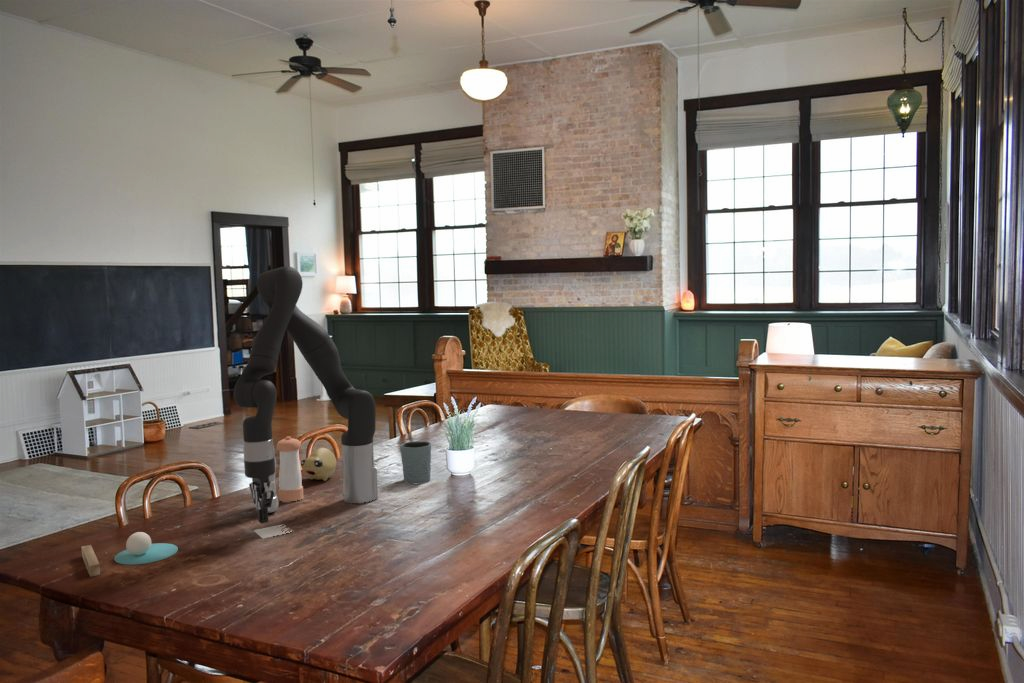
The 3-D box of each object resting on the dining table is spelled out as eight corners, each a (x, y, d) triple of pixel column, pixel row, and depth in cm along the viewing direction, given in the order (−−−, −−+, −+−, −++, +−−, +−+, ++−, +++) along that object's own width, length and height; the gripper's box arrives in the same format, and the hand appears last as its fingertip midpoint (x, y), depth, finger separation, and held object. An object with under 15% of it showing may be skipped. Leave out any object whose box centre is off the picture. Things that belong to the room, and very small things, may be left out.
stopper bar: (91, 554, 186) (90, 544, 186) (100, 574, 173) (99, 564, 173) (82, 556, 185) (81, 546, 185) (90, 576, 172) (89, 566, 172)
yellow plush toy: (295, 483, 248) (294, 451, 248) (316, 474, 260) (315, 443, 259) (322, 485, 245) (320, 453, 244) (342, 476, 257) (340, 445, 256)
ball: (128, 553, 187) (152, 545, 190) (129, 562, 183) (154, 554, 185) (123, 532, 186) (147, 525, 188) (124, 541, 181) (149, 533, 184)
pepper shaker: (273, 500, 229) (270, 437, 228) (290, 494, 236) (287, 433, 234) (291, 503, 226) (288, 439, 224) (308, 497, 232) (306, 435, 231)
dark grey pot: (417, 486, 243) (415, 448, 242) (394, 481, 249) (393, 445, 248) (438, 479, 251) (437, 442, 250) (416, 474, 257) (415, 439, 256)
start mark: (283, 524, 206) (283, 524, 206) (293, 532, 200) (293, 531, 200) (253, 530, 202) (253, 530, 202) (262, 539, 195) (262, 538, 195)
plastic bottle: (254, 517, 214) (251, 446, 212) (256, 510, 220) (252, 441, 219) (278, 514, 215) (275, 444, 214) (279, 508, 222) (276, 440, 220)
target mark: (171, 540, 196) (171, 539, 196) (183, 555, 184) (183, 554, 184) (110, 552, 188) (110, 551, 188) (119, 569, 176) (119, 568, 176)
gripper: (282, 459, 194) (286, 525, 196) (265, 450, 205) (269, 513, 206) (252, 464, 190) (256, 532, 191) (236, 454, 200) (241, 519, 202)
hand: (263, 522), depth 199 cm, fingers closed
